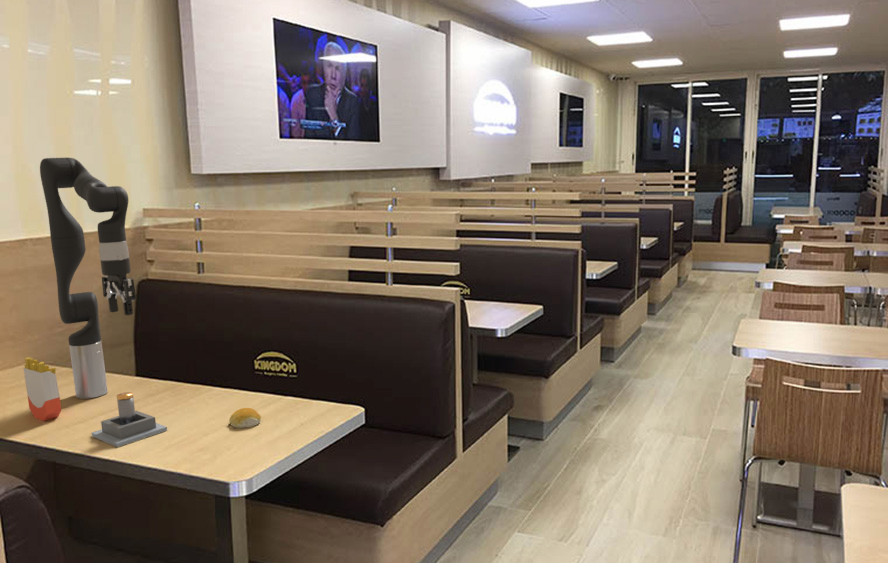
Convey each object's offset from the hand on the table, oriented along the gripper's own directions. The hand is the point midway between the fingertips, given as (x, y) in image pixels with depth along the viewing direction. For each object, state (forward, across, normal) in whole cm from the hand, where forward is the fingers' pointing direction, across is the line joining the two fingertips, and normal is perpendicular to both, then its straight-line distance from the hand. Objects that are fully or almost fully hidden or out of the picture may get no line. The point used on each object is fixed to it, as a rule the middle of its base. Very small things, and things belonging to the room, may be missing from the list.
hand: (121, 313), depth 207 cm
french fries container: (+30, -20, -16) cm, 40 cm away
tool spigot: (+29, +15, -9) cm, 34 cm away
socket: (+30, +15, -9) cm, 35 cm away
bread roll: (+31, +36, +14) cm, 49 cm away
